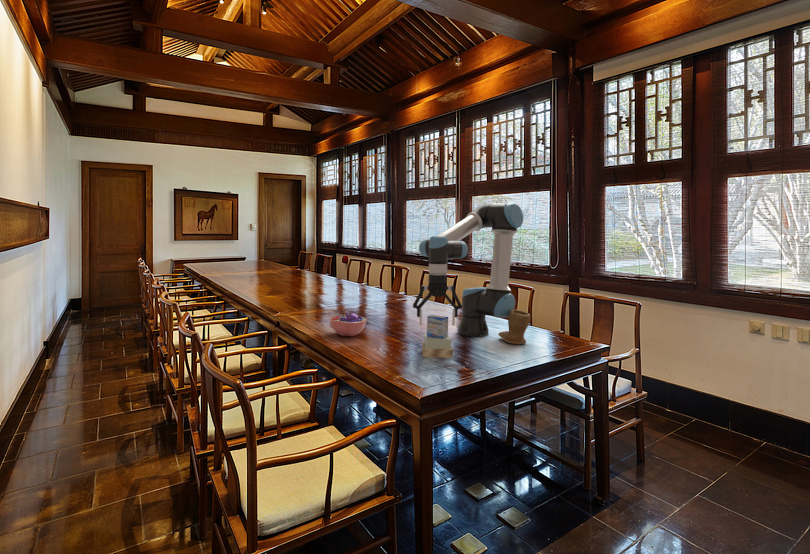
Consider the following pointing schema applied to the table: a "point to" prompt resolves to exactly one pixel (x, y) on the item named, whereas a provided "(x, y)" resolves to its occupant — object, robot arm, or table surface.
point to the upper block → (437, 342)
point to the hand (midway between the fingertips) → (436, 325)
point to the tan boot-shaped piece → (516, 327)
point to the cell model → (348, 324)
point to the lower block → (436, 352)
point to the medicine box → (437, 326)
